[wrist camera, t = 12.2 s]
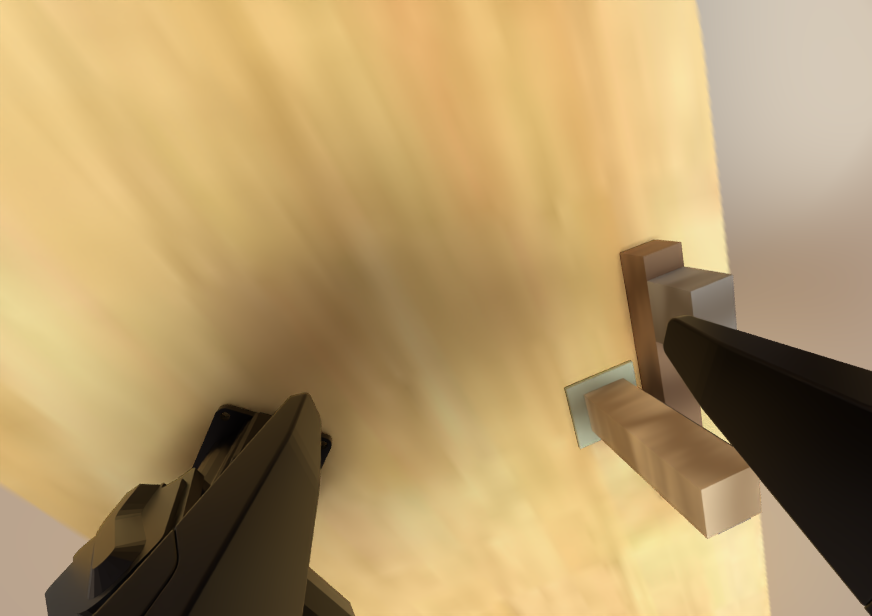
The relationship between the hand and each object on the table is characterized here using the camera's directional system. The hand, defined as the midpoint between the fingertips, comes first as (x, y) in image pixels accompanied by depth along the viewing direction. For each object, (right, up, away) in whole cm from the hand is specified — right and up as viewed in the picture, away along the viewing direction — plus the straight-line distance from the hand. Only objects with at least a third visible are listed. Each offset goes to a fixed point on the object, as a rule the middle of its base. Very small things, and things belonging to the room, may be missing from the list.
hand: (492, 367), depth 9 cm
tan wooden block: (+10, -5, +16) cm, 20 cm away
